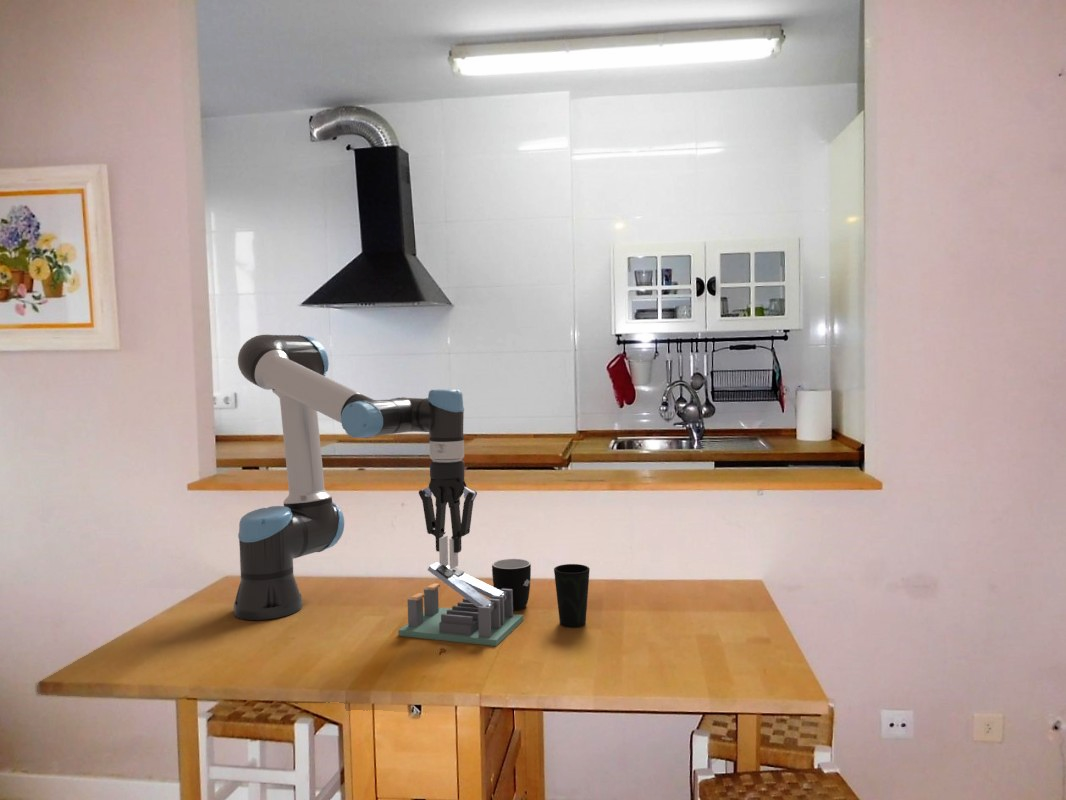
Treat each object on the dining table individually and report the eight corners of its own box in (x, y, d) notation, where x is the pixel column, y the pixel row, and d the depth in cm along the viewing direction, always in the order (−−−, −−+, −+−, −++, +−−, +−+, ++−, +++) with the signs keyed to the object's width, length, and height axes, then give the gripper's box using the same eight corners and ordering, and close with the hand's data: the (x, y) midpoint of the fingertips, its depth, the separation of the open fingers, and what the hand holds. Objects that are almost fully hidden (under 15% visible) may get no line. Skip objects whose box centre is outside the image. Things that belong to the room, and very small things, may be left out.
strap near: (426, 571, 159) (430, 564, 159) (434, 566, 162) (438, 560, 162) (487, 616, 155) (491, 609, 155) (493, 610, 158) (497, 604, 158)
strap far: (437, 574, 167) (440, 567, 166) (444, 570, 170) (447, 563, 170) (501, 604, 162) (504, 597, 162) (507, 599, 166) (510, 592, 165)
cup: (548, 626, 163) (547, 570, 163) (564, 615, 170) (563, 562, 170) (581, 631, 160) (580, 574, 159) (596, 620, 166) (595, 566, 166)
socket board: (398, 635, 159) (397, 599, 159) (432, 611, 175) (431, 579, 174) (496, 646, 152) (495, 608, 152) (523, 620, 167) (522, 586, 167)
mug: (528, 613, 172) (527, 568, 172) (489, 612, 174) (488, 568, 173) (536, 597, 184) (535, 555, 184) (499, 596, 185) (498, 555, 185)
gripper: (408, 461, 166) (410, 568, 166) (471, 462, 161) (473, 573, 162) (424, 457, 173) (426, 560, 174) (484, 458, 168) (486, 564, 169)
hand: (448, 566), depth 168 cm, fingers closed
